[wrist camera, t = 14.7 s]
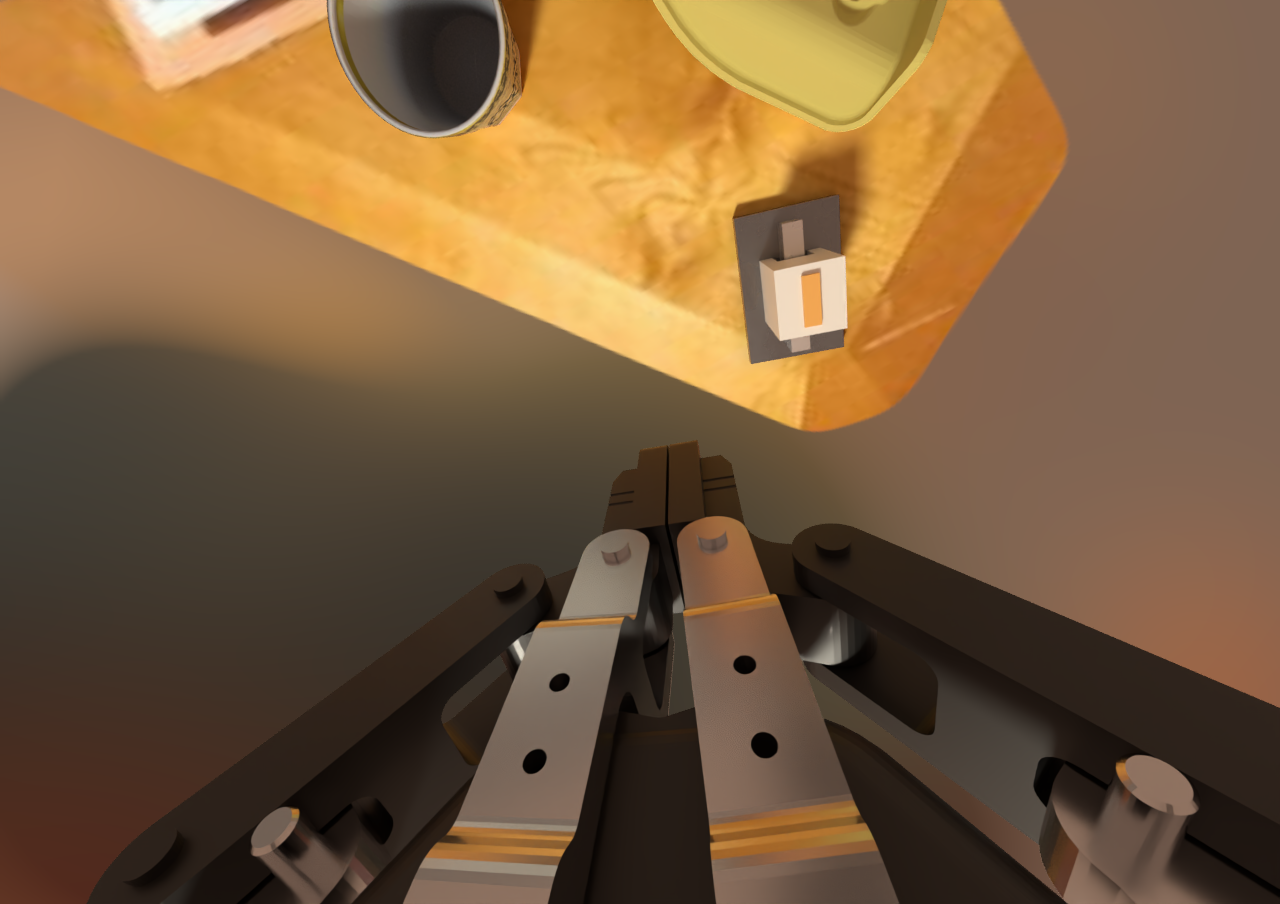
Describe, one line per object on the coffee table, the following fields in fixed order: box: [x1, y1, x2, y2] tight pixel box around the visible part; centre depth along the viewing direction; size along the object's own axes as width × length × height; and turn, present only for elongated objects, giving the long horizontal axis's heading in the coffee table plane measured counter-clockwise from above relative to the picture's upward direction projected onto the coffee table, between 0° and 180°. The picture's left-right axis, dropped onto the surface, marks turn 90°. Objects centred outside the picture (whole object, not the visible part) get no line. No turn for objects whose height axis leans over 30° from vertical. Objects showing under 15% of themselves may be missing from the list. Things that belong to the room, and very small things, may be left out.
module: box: [759, 248, 847, 341], centre depth 38 cm, size 5×5×7 cm
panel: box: [733, 195, 844, 364], centre depth 40 cm, size 12×8×3 cm, turn 12°
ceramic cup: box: [327, 0, 522, 138], centre depth 31 cm, size 13×10×10 cm
